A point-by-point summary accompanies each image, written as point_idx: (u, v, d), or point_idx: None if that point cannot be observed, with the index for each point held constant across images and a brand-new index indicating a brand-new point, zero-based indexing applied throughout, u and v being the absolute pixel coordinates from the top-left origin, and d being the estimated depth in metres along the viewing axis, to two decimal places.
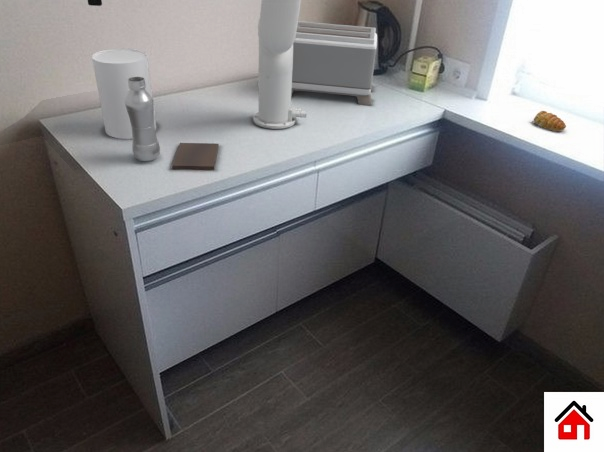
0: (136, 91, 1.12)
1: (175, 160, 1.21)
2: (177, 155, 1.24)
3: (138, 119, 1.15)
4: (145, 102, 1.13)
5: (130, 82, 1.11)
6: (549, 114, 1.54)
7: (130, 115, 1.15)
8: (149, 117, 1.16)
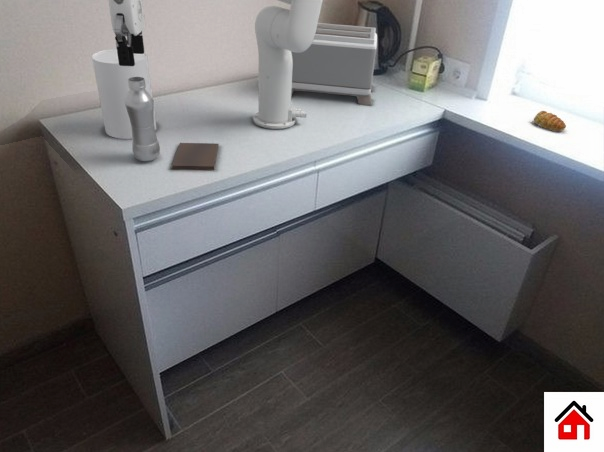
0: (136, 91, 1.12)
1: (175, 160, 1.21)
2: (177, 155, 1.24)
3: (138, 119, 1.15)
4: (145, 102, 1.13)
5: (130, 82, 1.11)
6: (549, 114, 1.54)
7: (130, 115, 1.15)
8: (149, 117, 1.16)
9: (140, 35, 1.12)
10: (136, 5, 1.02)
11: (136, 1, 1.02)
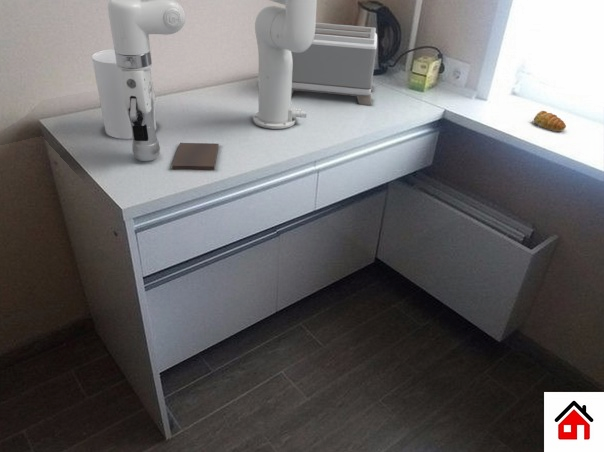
0: None
1: (175, 160, 1.21)
2: (177, 155, 1.24)
3: None
4: None
5: None
6: (549, 114, 1.54)
7: None
8: (149, 117, 1.16)
9: None
10: (147, 87, 1.11)
11: (147, 83, 1.11)
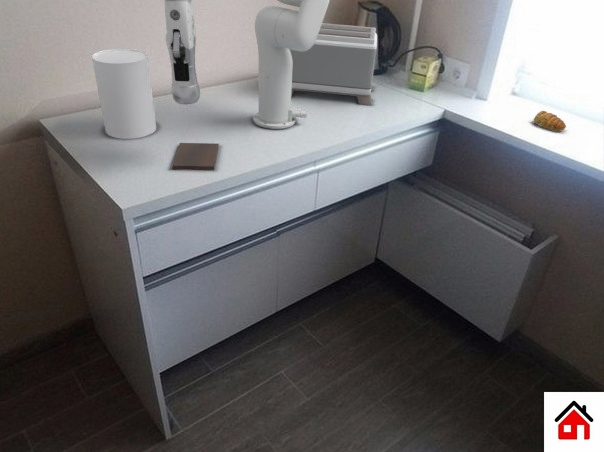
0: None
1: (175, 160, 1.21)
2: (177, 155, 1.24)
3: None
4: None
5: None
6: (549, 114, 1.54)
7: (171, 52, 1.08)
8: (191, 55, 1.09)
9: None
10: (191, 20, 1.05)
11: (191, 17, 1.05)
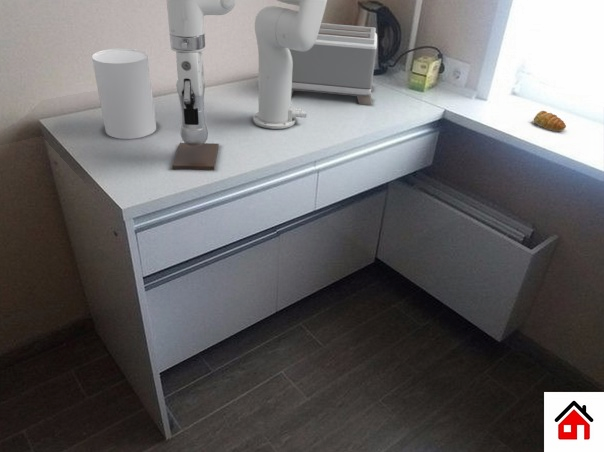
0: None
1: (175, 160, 1.21)
2: (177, 155, 1.24)
3: None
4: None
5: None
6: (549, 114, 1.54)
7: (181, 98, 1.14)
8: (200, 100, 1.15)
9: None
10: (200, 70, 1.11)
11: (200, 66, 1.11)
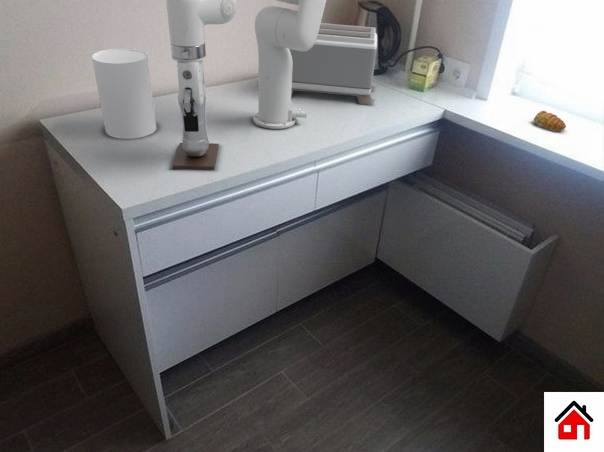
0: None
1: (175, 160, 1.21)
2: (177, 155, 1.24)
3: None
4: None
5: None
6: (549, 114, 1.54)
7: (183, 111, 1.16)
8: (201, 113, 1.17)
9: None
10: (201, 78, 1.12)
11: (201, 75, 1.12)
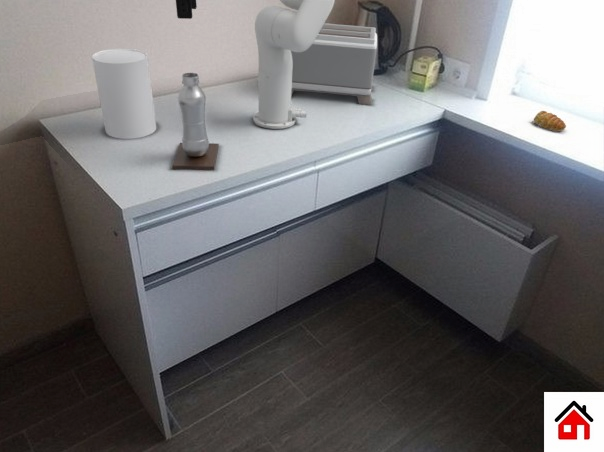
0: (190, 87, 1.13)
1: (175, 160, 1.21)
2: (177, 155, 1.24)
3: (191, 115, 1.16)
4: (198, 98, 1.14)
5: (185, 78, 1.12)
6: (549, 114, 1.54)
7: (183, 111, 1.16)
8: (201, 113, 1.17)
9: None
10: None
11: None
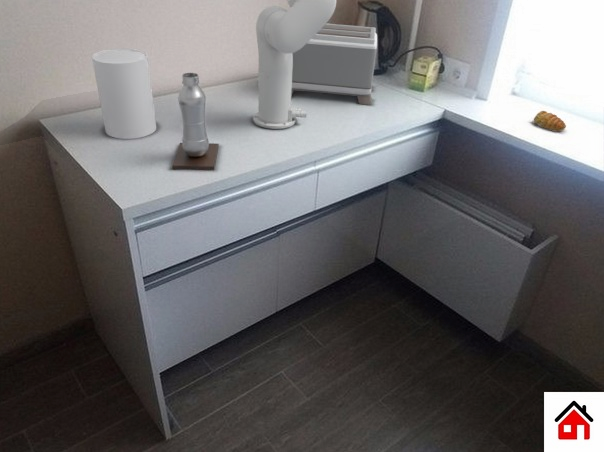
0: (190, 87, 1.13)
1: (175, 160, 1.21)
2: (177, 155, 1.24)
3: (191, 115, 1.16)
4: (198, 98, 1.14)
5: (185, 78, 1.12)
6: (549, 114, 1.54)
7: (183, 111, 1.16)
8: (201, 113, 1.17)
9: None
10: None
11: None
